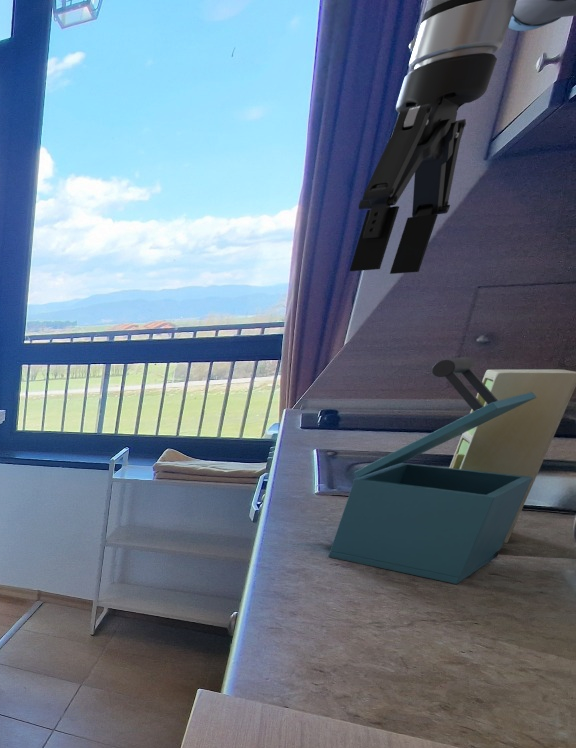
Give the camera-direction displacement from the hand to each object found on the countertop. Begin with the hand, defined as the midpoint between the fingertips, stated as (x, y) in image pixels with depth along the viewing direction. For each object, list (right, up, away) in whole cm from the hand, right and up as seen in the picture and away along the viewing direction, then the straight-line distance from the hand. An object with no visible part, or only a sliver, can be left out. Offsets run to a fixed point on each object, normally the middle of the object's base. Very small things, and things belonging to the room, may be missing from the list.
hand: (384, 272), depth 80 cm
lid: (0, -23, -7) cm, 24 cm away
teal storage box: (+1, -37, -3) cm, 37 cm away
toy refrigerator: (+14, -34, +4) cm, 37 cm away
